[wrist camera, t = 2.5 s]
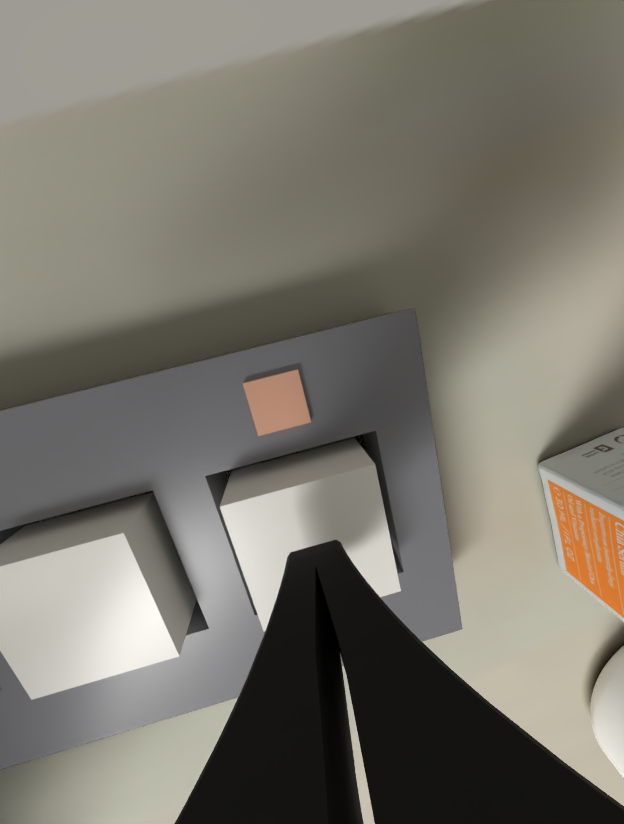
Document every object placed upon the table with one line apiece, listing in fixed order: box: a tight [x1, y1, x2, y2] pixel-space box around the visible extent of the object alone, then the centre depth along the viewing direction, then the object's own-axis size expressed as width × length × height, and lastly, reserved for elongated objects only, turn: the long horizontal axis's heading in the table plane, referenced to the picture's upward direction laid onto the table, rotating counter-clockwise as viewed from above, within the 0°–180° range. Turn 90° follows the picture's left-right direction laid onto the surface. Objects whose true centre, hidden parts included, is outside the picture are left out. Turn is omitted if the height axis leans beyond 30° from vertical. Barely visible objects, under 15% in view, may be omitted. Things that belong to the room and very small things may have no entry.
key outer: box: [220, 438, 401, 631], centre depth 10 cm, size 4×4×2 cm
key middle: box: [0, 492, 197, 700], centre depth 10 cm, size 4×4×2 cm
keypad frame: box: [0, 308, 462, 770], centre depth 11 cm, size 12×23×2 cm, turn 103°
